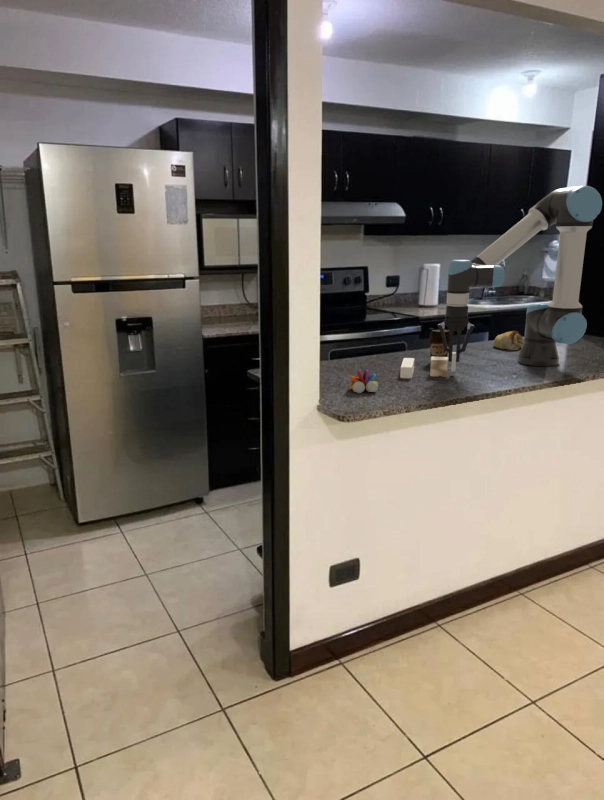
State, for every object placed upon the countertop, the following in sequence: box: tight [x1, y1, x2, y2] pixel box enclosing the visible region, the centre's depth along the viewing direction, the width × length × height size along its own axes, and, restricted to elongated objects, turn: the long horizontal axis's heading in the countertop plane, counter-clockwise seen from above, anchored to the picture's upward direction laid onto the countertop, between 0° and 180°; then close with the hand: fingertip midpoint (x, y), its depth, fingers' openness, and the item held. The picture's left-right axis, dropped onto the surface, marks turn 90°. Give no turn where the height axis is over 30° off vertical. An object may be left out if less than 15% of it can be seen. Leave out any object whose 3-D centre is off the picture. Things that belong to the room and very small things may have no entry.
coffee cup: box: [429, 329, 450, 358], centre depth 233 cm, size 9×8×13 cm
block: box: [429, 356, 449, 378], centre depth 216 cm, size 6×6×6 cm
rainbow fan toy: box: [348, 369, 379, 394], centre depth 195 cm, size 8×10×7 cm
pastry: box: [492, 330, 524, 351], centre depth 263 cm, size 14×12×8 cm
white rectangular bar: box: [399, 357, 416, 379], centre depth 219 cm, size 4×16×4 cm, turn 167°
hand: (453, 370), depth 215 cm, fingers closed
